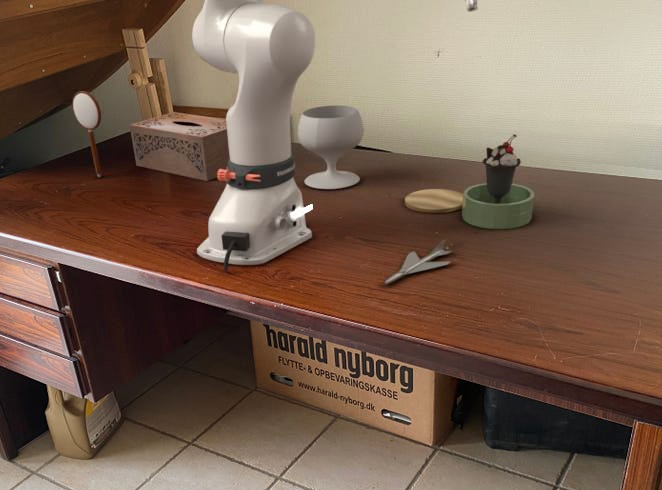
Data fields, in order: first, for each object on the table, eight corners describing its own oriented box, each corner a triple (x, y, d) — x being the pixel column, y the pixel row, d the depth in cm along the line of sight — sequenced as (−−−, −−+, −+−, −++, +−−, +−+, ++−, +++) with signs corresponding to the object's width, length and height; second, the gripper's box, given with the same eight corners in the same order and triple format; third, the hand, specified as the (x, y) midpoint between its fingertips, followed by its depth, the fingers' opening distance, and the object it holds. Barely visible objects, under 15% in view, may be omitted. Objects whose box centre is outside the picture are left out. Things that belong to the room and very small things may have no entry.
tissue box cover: (136, 165, 181) (129, 124, 176) (179, 151, 190) (173, 112, 185) (207, 181, 166) (202, 137, 161) (250, 164, 175) (246, 122, 170)
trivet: (456, 216, 136) (456, 212, 136) (396, 209, 142) (396, 205, 141) (474, 195, 145) (474, 192, 144) (416, 190, 150) (417, 186, 150)
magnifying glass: (84, 176, 176) (66, 90, 166) (89, 174, 178) (72, 89, 167) (109, 180, 172) (93, 92, 162) (115, 178, 173) (98, 91, 163)
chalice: (346, 195, 151) (344, 121, 143) (288, 188, 157) (284, 117, 150) (374, 175, 161) (374, 105, 153) (319, 169, 167) (316, 102, 160)
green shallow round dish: (523, 232, 127) (526, 208, 125) (453, 224, 133) (454, 200, 130) (538, 209, 136) (541, 186, 134) (472, 202, 142) (474, 180, 139)
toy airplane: (364, 280, 115) (364, 267, 114) (439, 239, 127) (440, 226, 126) (404, 293, 110) (404, 279, 109) (477, 249, 122) (478, 236, 121)
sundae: (519, 220, 131) (529, 137, 124) (482, 222, 132) (489, 139, 124) (510, 208, 137) (518, 127, 129) (474, 210, 137) (480, 130, 130)
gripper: (432, -60, 140) (438, 16, 143) (538, -100, 127) (542, -16, 129) (447, -53, 145) (452, 20, 147) (550, -92, 132) (554, -11, 134)
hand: (495, 3), depth 138 cm, fingers open, 8 cm apart
